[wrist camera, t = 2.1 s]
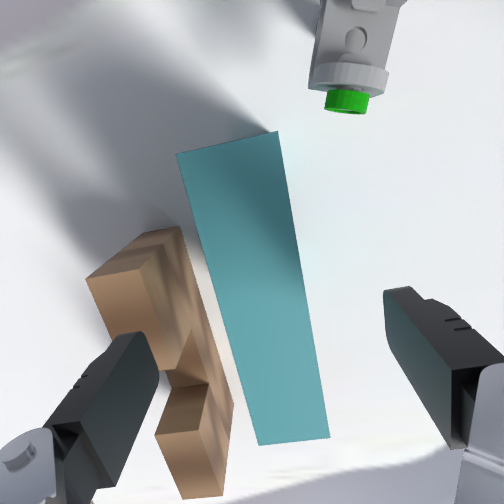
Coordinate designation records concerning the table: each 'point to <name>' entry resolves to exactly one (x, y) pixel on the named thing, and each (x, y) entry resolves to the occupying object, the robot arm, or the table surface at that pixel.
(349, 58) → the mechanical component
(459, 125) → the table surface
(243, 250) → the teal notched block
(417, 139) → the table surface
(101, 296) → the walnut slotted plate
